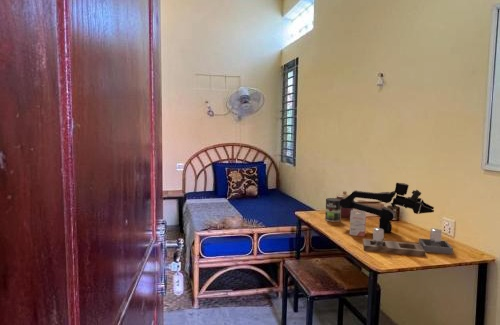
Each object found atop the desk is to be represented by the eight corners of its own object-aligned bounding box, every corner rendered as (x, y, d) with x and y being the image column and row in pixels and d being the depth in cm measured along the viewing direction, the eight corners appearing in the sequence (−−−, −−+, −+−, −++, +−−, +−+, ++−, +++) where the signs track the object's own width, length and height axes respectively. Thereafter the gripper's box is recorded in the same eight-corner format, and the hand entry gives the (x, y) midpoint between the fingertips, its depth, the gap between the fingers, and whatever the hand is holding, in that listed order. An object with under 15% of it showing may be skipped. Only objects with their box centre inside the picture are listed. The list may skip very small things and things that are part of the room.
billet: (372, 249, 179) (373, 230, 178) (372, 246, 184) (373, 227, 183) (383, 250, 178) (384, 230, 177) (382, 247, 183) (383, 228, 182)
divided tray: (363, 250, 177) (364, 245, 177) (362, 243, 189) (363, 238, 188) (424, 256, 170) (425, 251, 170) (419, 248, 181) (420, 243, 181)
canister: (349, 218, 243) (351, 193, 241) (331, 215, 250) (332, 191, 248) (355, 214, 253) (356, 190, 252) (338, 212, 260) (338, 188, 259)
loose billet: (430, 249, 180) (431, 230, 179) (428, 246, 184) (429, 228, 183) (441, 251, 178) (442, 231, 177) (439, 247, 183) (440, 229, 182)
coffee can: (337, 222, 231) (338, 201, 230) (322, 220, 237) (323, 199, 235) (342, 219, 239) (343, 199, 238) (328, 217, 245) (329, 197, 244)
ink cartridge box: (365, 234, 205) (366, 209, 204) (364, 236, 200) (366, 211, 199) (349, 232, 208) (351, 208, 207) (349, 235, 203) (350, 210, 202)
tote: (423, 251, 177) (424, 245, 176) (418, 243, 189) (419, 238, 189) (452, 254, 173) (453, 248, 173) (445, 246, 186) (445, 240, 186)
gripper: (407, 191, 196) (437, 198, 189) (408, 186, 212) (437, 193, 206) (402, 210, 198) (432, 218, 191) (404, 204, 214) (432, 211, 207)
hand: (433, 209), depth 199 cm, fingers open, 9 cm apart
